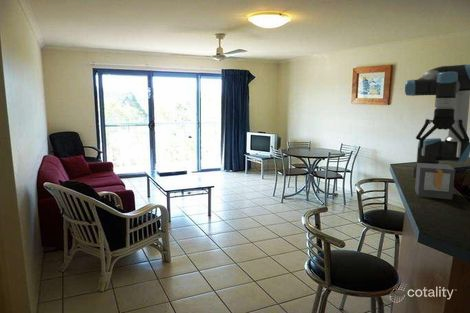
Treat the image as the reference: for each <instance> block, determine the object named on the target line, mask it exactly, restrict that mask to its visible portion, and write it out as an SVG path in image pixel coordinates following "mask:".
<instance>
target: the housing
mask: <svg viewBox="0 0 470 313" xmlns="http://www.w3.org/2000/svg"><path fill="white" fill-rule="evenodd" d="M416 164H417V170H416V177H415V186H414V191H415V192H416V195H417V197H418V198H419V197H420V198H432V199H445V200H453V196H454V186H455V176H456V175H455V174H456V169H455V168H454V167H453V166H451V165H450V164H443V163H439V164H428V163H417V162H416ZM436 169H440V170H441V171H442V172H443V173H450V182H449V192H446V191H433V190H424V177H425V172H436Z"/></svg>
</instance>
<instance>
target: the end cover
mask: <svg viewBox="0 0 470 313" xmlns="http://www.w3.org/2000/svg"><path fill="white" fill-rule="evenodd" d="M449 182H450V173H443V172H442V171H441V170H440V169H436V172H425V177H424V190H433V191H446V192H449Z"/></svg>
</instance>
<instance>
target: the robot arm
mask: <svg viewBox="0 0 470 313" xmlns="http://www.w3.org/2000/svg"><path fill="white" fill-rule="evenodd" d="M404 93H405V95H406V96H410V97H411V96H412V97H415V96H435V99H434V108H435V109H434V112H433V118H432V119H429V118H426V119H425V121H424V124H423V126H422V127H421V129H420V130H419V132H418V134H416V136H415V139H416V140H418V144H417V154H416V163H415V166H414V168H413V171H412V176H413V177H414V178H416V170H417V163H428V164H440V162H441V161H442V162H453V163H456V164H457V163H467V162H468V160H469V158H470V138H469V135H468V133H467V132H468V122H469V111H470V110H469V109H470V64H456V65H443V66H437V67H435V68H432V69H430V70H427V71H426V72H424V73H423V75H422V76H420V77H419V78H418V79H408V80H407V81H406V82H405V84H404ZM430 124H433V126H432V127H431V128H430V129H429V130H428V131H427V132H425V130H426V129H427V128H428V126H429V125H430ZM436 130H445V131H446V130H448V135H447V136H446V137H445V138H444V140H442V138H439V137H438V138H436V137H433V138H428V137H429V136H430V135H431V134H433V132H435V131H436ZM424 132H425V134H424Z"/></svg>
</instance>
